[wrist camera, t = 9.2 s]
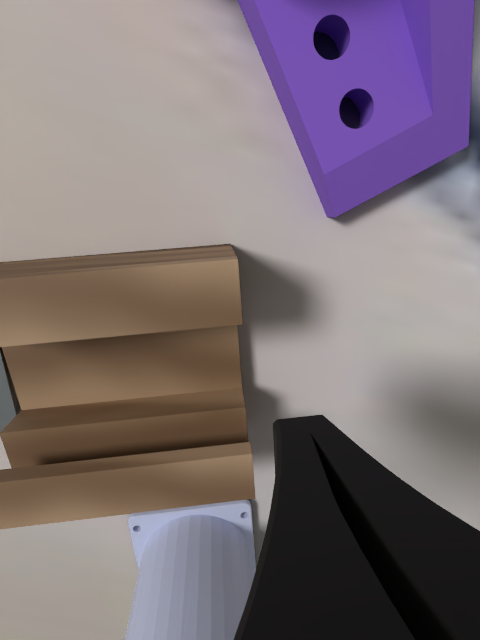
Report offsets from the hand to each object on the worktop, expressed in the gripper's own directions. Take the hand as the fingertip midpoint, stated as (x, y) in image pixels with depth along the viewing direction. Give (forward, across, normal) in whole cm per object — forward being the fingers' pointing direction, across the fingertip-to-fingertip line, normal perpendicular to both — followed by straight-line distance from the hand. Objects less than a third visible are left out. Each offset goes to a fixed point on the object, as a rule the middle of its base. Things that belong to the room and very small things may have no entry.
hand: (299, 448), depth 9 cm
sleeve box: (+10, +7, +1) cm, 13 cm away
